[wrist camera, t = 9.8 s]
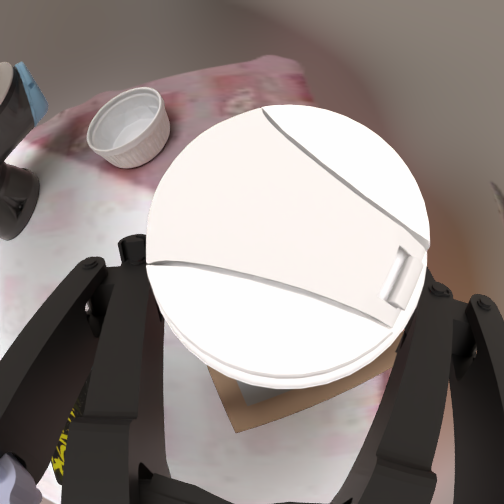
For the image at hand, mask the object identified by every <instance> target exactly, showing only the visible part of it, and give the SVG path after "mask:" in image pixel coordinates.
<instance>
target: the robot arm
mask: <svg viewBox="0 0 504 504" xmlns="http://www.w3.org/2000/svg"><path fill="white" fill-rule="evenodd" d="M47 110H48V102H47V101H46V99H45V97H44V95H43V93H42V92H41V90H40V88H39V87H38V85H37V83H36V82H35V80H34V79H33V77H32V75H31V74H30V72H29V70H28V69H27V67H26V65H25V64H24V63H23V62H20V63H18V64H16V65H15V66H14V67H13V66H12V65H10V64H9V63H8V62H2V63H0V238H2V239H4V240H10V239H13V238H14V237H16V236H17V235H18V234H19V233H20V232H21V231H22V229H23V228H24V227H25V225H26V224H27V222H28V220H29V219H30V217H31V215H32V213H33V210H34V208H35V205H36V202H37V198H38V194H39V180H38V177H37V176H36V175H35V174H34V173H33V172H31V171H30V170H28V169H25V168H22V169H21V168H18V167H16V166H12V165H9V164H6V163H5V162H4V160H5V159H6V158H7V157H8V155H9V154H10V153H11V152H12V151H13V150H14V149H15V147H16V146H17V145H18V144H19V143H20V142H21V141H22V140H23V139H24V137H25V136H26V135H27V134H28V133H29V132H30V131H31V130H32V129H33V128H34V127H36V125H37V123H38V122H39V121H40V120H41V119H42V118H43V116H44V115H45V114H46V113H47ZM118 247H119V252H120V256H121V261H122V264H121V266H118V267H106V264H105V260H104V259H103V258H102V257H90V258H89V257H88V258H86V259H85V260H82V261H81V262H80V263H78V264H77V265H76V266H75V268H74V269H73V270H72V271H71V272H70V273H69V274H68V275H67V276H66V278H65V279H64V280H63V281H62V282H61V283H60V284H59V286H58V287H57V288H56V289H55V290H54V291H53V293H52V294H51V295H50V296H49V297H48V298H47V300H46V301H45V302H44V303H43V305H42V306H41V307H40V308H39V309H38V311H37V312H36V313H35V314H34V316H33V317H32V318H31V320H30V321H29V322H28V323H27V325H26V326H25V327H24V329H23V330H22V331H21V333H20V334H19V335H18V337H17V338H16V339H15V341H14V342H13V344H12V345H11V346H10V348H9V349H8V351H7V352H6V353H5V355H4V356H3V358H2V359H1V361H0V504H40V502H41V501H42V494H41V492H40V490H39V489H37V488H36V485H37V483H38V482H39V481H40V479H41V478H42V476H43V475H44V473H45V471H46V469H47V468H48V466H49V463H50V461H51V459H52V457H53V454H54V452H55V449H56V447H57V444H58V442H59V439H60V437H61V434H62V432H63V430H64V427H65V425H66V423H67V420H68V418H69V416H70V413H71V411H72V409H73V407H74V404H75V402H76V400H77V398H78V396H79V394H80V392H81V389H82V387H83V385H84V383H85V381H86V379H87V377H88V375H89V373H90V371H91V369H92V373H91V377H90V382H89V388H88V393H87V398H86V404H85V410H84V414H83V416H82V417H78V418H74V419H73V420H72V421H71V423H70V426H69V429H68V436H67V443H66V450H65V459H64V468H63V480H62V496H61V504H233V503H231V502H229V501H226V500H224V499H222V498H220V497H218V496H215V495H213V494H211V493H209V492H207V491H205V490H203V489H201V488H199V487H197V486H195V485H192V484H188V483H185V482H181V481H178V480H175V479H172V478H171V476H170V472H169V469H168V465H167V461H166V453H165V435H164V408H163V346H164V317H163V315H162V313H161V311H160V308H159V306H158V303H157V301H156V298H155V296H154V293H153V289H152V287H151V284H150V281H149V278H148V274H147V269H146V265H148V263H146V235H144V234H135V235H130V236H127V237H125V238H123V239H121V240H120V241H119V242H118ZM86 303H87V304H88V307H89V310H88V311H87V313H86V312H85V306H86ZM404 329H405V331H404V333H403V335H402V338H401V340H400V342H399V344H398V347H397V349H396V351H395V352H396V353H397V355H396V358H395V361H394V365H393V368H392V371H391V374H390V377H389V380H388V383H387V386H386V389H385V392H384V394H383V397H382V400H381V403H380V405H379V408H378V410H377V413H376V415H375V418H374V420H373V423H372V425H371V428H370V430H369V432H368V435H367V437H366V439H365V442H364V444H363V446H362V448H361V450H360V452H359V455H358V457H357V459H356V461H355V463H354V465H353V467H352V469H351V471H350V473H349V475H348V477H347V478H346V480H345V482H344V484H343V486H342V487H341V489H340V490H339V492H338V493H337V495H336V496H335V497H334V499H333V500H332V501H331V503H330V504H430V503H431V500H432V497H433V494H434V491H435V487H436V483H437V477H436V474H435V473H434V472H432V471H431V466H432V461H433V458H434V454H435V450H436V446H437V442H438V438H439V434H440V429H441V424H442V419H443V414H444V408H445V402H446V396H447V388H448V381H449V383H450V390H451V398H452V408H453V420H454V437H455V485H454V501H453V504H504V320H503V318H502V316H501V314H500V312H499V310H498V308H497V306H496V304H495V303H494V302H493V301H492V300H491V299H490V298H489V297H487V296H485V295H481V294H474V295H472V297H471V298H470V301H469V303H464V302H461V301H458V300H454V299H453V295H452V292H451V290H450V289H449V288H448V287H446V286H445V285H444V284H441V283H439V282H435V280H434V278H433V276H432V274H431V272H430V271H429V269H428V267H426V273H425V280H424V285H423V288H422V291H421V295H420V297H419V300H418V303H417V306H416V308H415V310H414V312H413V314H412V316H411V317H410V319H409V321H408V323H407V325H406V326H405V328H404ZM476 350H477V354H476ZM92 367H93V368H92ZM275 504H320V503H298V502H284V503H275Z"/></svg>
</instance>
